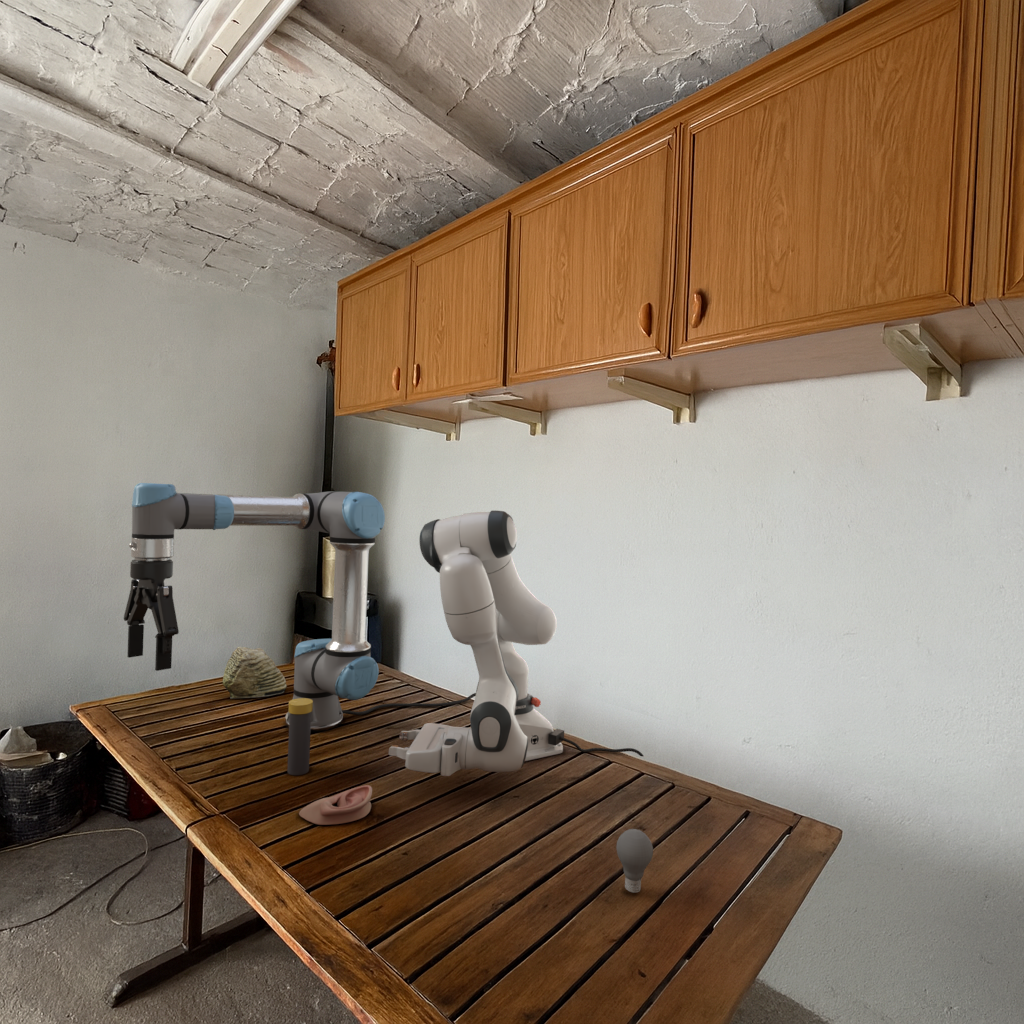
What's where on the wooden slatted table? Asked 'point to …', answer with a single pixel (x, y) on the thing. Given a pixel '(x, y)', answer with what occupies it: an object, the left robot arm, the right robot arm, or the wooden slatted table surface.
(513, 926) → the wooden slatted table surface
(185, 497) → the left robot arm
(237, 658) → the fossil
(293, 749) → the dark grey bottle
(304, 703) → the lid
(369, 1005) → the wooden slatted table surface
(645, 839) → the light bulb
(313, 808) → the anatomical model
